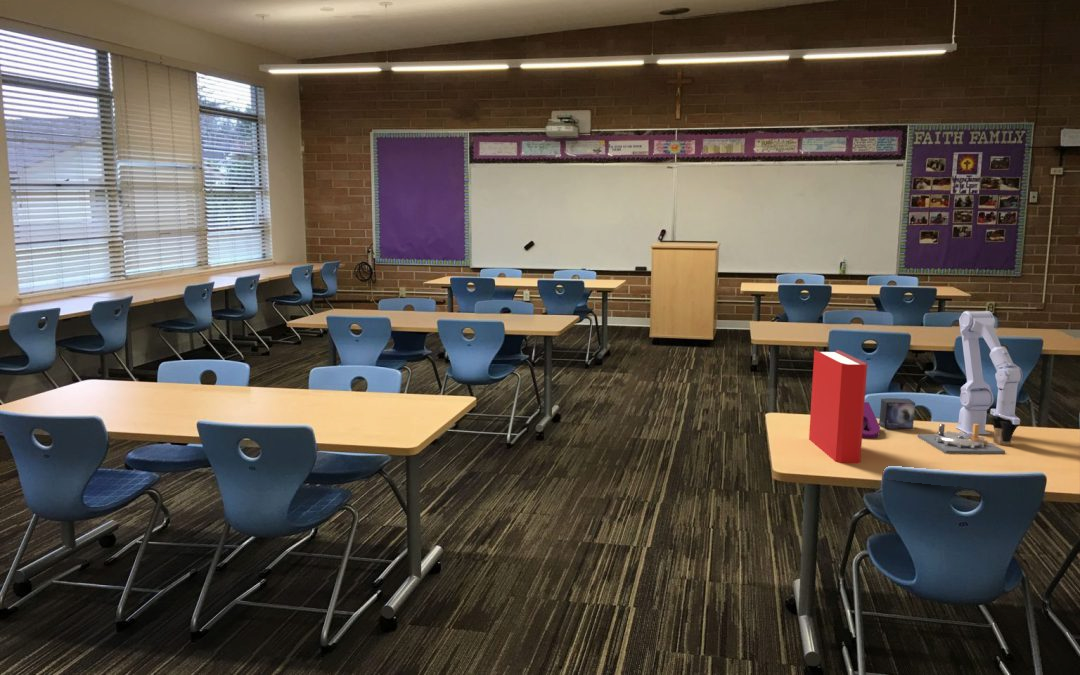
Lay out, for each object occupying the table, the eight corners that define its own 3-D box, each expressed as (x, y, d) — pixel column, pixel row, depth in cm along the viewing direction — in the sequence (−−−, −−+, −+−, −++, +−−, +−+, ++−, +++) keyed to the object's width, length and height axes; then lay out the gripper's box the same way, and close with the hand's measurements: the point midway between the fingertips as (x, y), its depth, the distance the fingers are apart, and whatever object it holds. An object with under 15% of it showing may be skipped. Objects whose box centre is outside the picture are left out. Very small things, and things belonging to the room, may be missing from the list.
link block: (993, 441, 297) (994, 428, 296) (1004, 441, 297) (1006, 428, 296) (999, 445, 293) (1001, 431, 292) (1011, 445, 293) (1012, 431, 292)
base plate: (917, 437, 302) (918, 420, 301) (972, 437, 303) (974, 420, 302) (945, 453, 282) (947, 436, 281) (1004, 453, 283) (1006, 436, 282)
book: (808, 439, 298) (814, 349, 293) (831, 439, 298) (837, 349, 293) (837, 463, 271) (843, 364, 266) (861, 463, 271) (869, 364, 266)
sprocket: (925, 435, 300) (926, 420, 299) (970, 435, 301) (972, 420, 300) (948, 448, 284) (950, 433, 283) (996, 448, 285) (997, 433, 284)
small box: (884, 429, 312) (886, 401, 310) (878, 425, 318) (880, 397, 317) (913, 430, 312) (916, 402, 310) (906, 425, 318) (909, 398, 316)
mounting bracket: (878, 452, 304) (863, 419, 318) (883, 434, 299) (868, 402, 314) (851, 452, 304) (838, 419, 319) (856, 434, 299) (842, 401, 314)
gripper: (983, 396, 300) (979, 433, 302) (1006, 406, 285) (1003, 445, 288) (1003, 396, 300) (999, 433, 302) (1027, 406, 286) (1023, 445, 288)
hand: (1002, 439), depth 295 cm, fingers closed on link block, 4 cm apart
